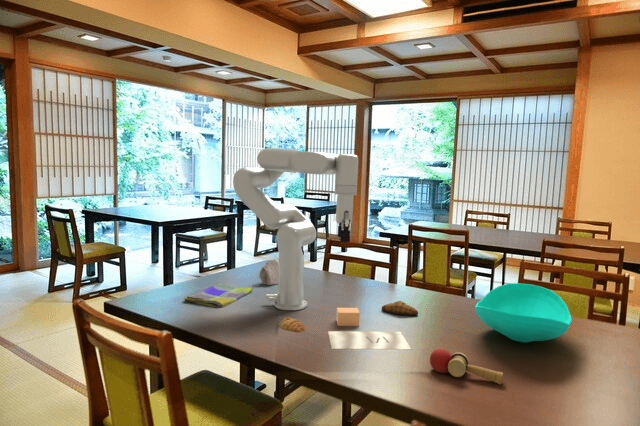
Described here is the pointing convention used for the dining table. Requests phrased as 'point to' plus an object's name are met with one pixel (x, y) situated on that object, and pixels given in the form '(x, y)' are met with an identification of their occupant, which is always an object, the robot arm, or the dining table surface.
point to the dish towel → (218, 295)
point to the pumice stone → (270, 273)
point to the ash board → (367, 340)
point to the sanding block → (347, 317)
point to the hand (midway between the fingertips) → (343, 239)
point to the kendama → (460, 366)
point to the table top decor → (524, 312)
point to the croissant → (400, 309)
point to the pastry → (292, 325)
